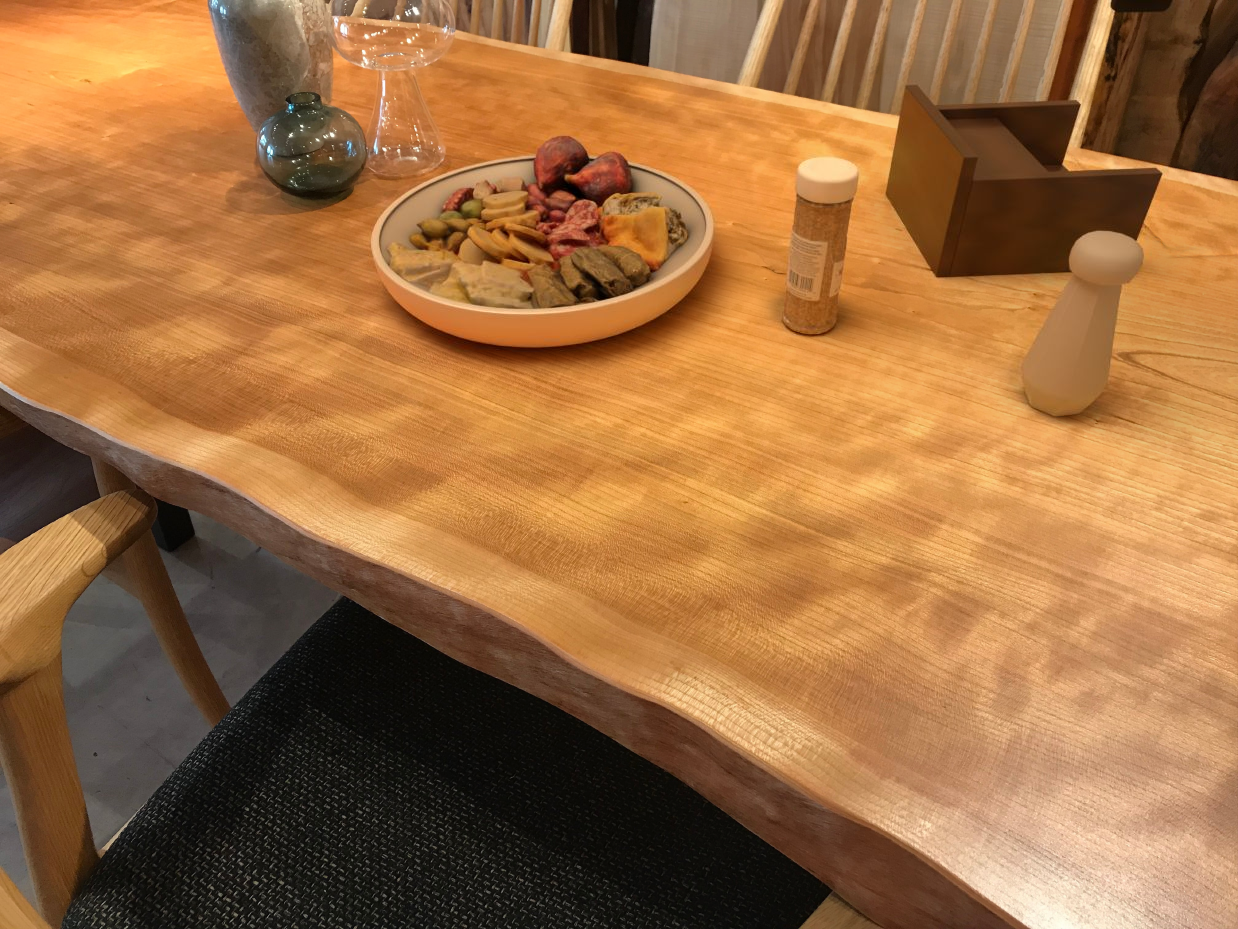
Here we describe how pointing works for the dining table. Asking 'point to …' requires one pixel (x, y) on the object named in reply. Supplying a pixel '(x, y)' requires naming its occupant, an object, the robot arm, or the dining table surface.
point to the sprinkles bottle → (818, 243)
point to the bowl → (544, 247)
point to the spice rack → (1004, 186)
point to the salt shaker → (1081, 326)
